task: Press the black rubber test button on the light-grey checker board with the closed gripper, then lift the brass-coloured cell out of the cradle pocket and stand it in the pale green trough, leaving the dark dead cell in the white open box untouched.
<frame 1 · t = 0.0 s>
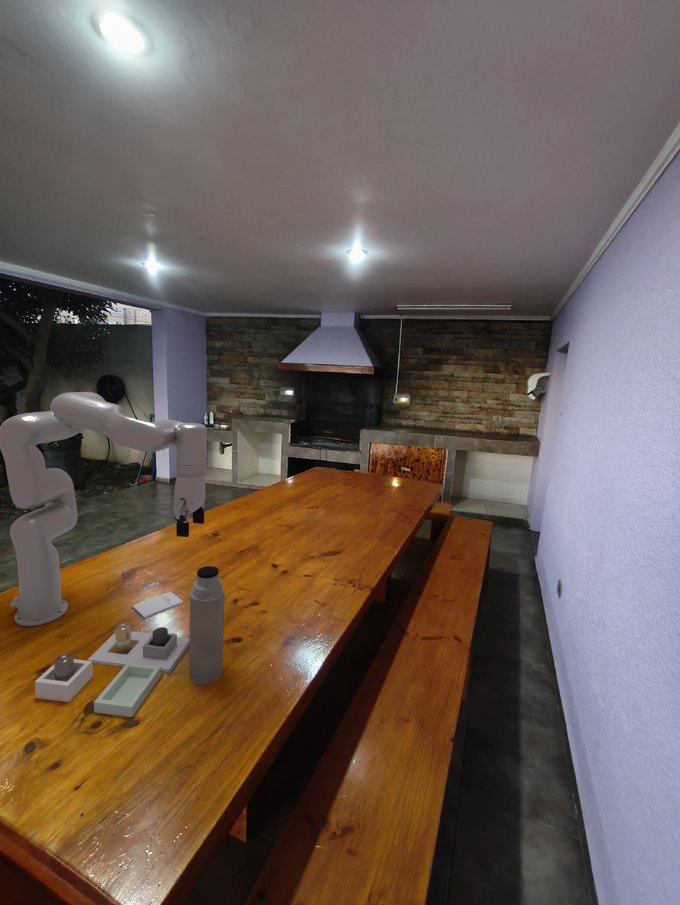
hand: (190, 529, 108), 31 cm above the table, fingers open, 9 cm apart
pale green trough: (129, 695, 89), on the table
dead cell: (65, 686, 90), point 1 cm above the table, touching white open box
test button: (160, 638, 102), point 5 cm above the table, slide at 0.0 cm
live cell: (123, 651, 103), resting in checker
thermos bottle: (206, 673, 98), on the table
white open box: (65, 689, 90), on the table
checker: (142, 653, 103), on the table
external hard drive: (158, 608, 124), on the table
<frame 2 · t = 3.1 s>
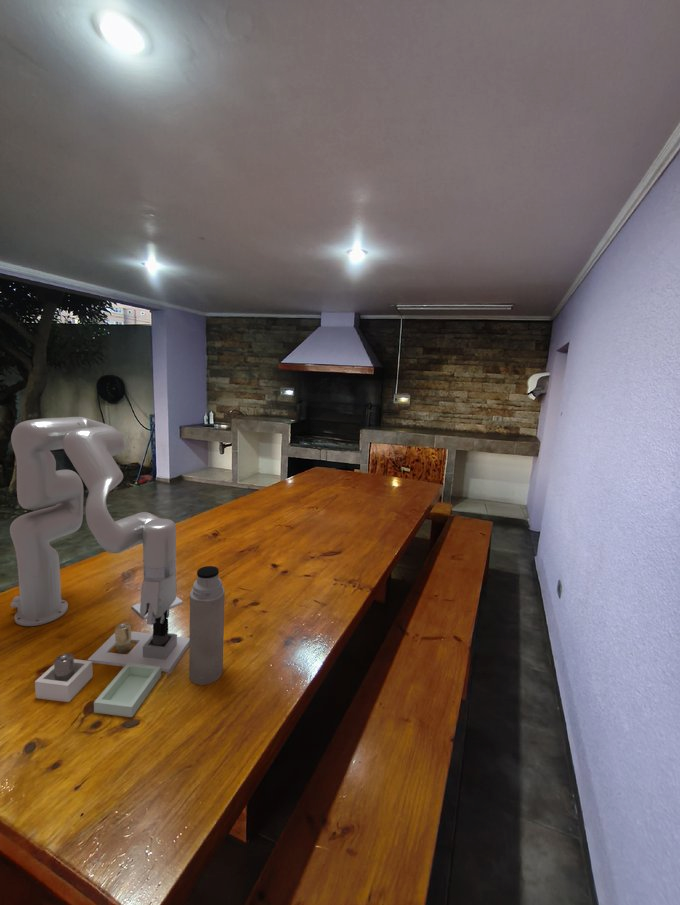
hand: (160, 633, 102), 6 cm above the table, fingers closed
test button: (160, 640, 102), point 4 cm above the table, slide at 0.6 cm, touching gripper
everything else where it was.
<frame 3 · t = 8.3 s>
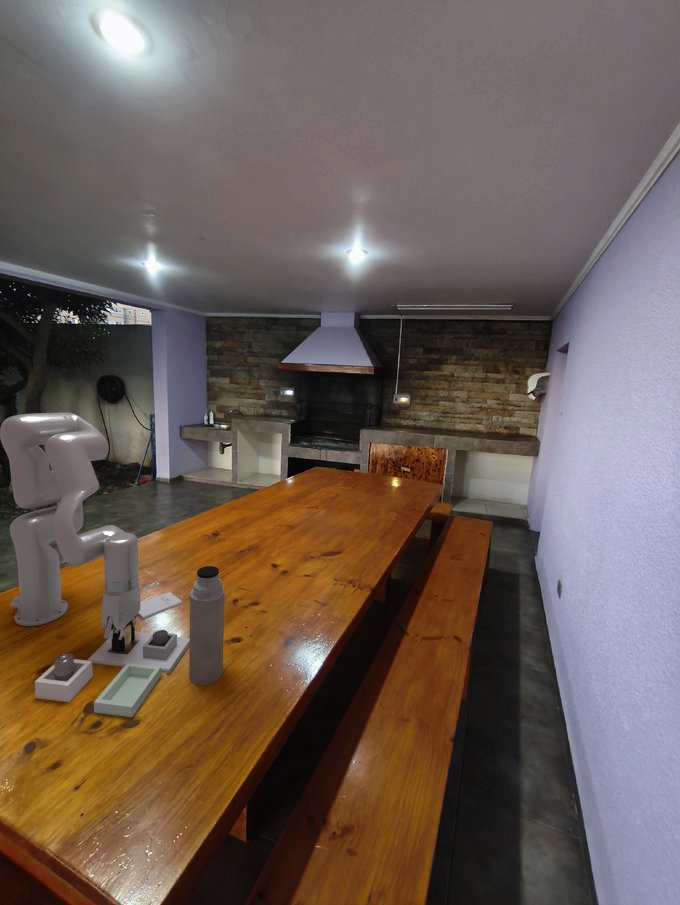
hand: (123, 644, 103), 2 cm above the table, fingers closed on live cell, 3 cm apart
test button: (160, 641, 102), point 4 cm above the table, slide at 0.8 cm
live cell: (123, 651, 103), resting in checker, touching gripper
everything else where it was.
when the fingers open (4 cm above the table, at t = 14.1 s): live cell drops 1 cm, resting on pale green trough.
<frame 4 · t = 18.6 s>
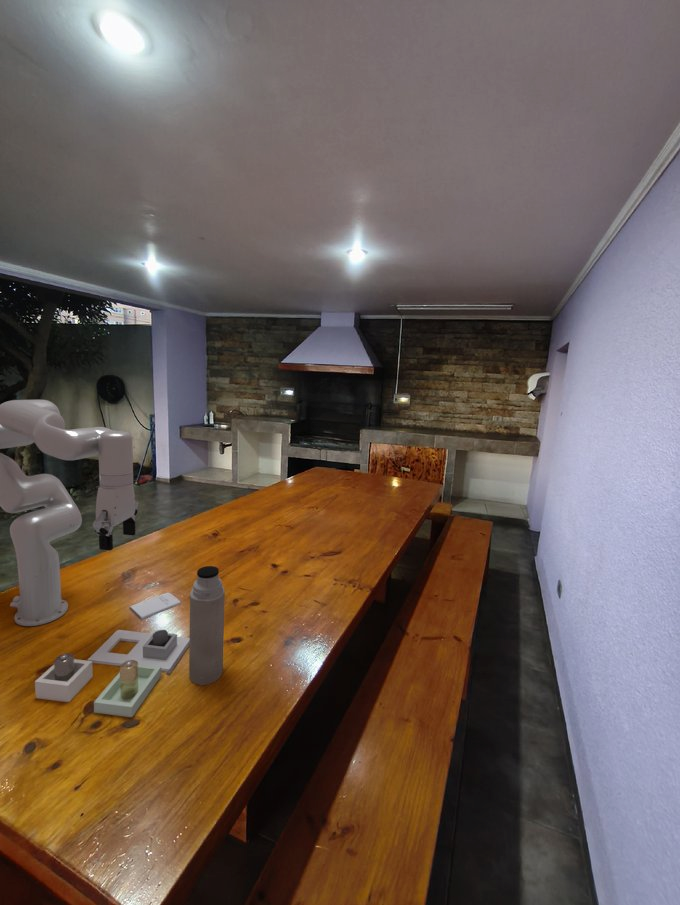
hand: (118, 541, 103), 28 cm above the table, fingers open, 9 cm apart
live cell: (129, 693, 89), point 1 cm above the table, touching pale green trough
everything else where it was.
at the end: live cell inside the target area on the pale green trough (0.1 cm from its centre), point 0.8 cm above the pale green trough's base; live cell tilted 0°; the gripper is holding nothing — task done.
